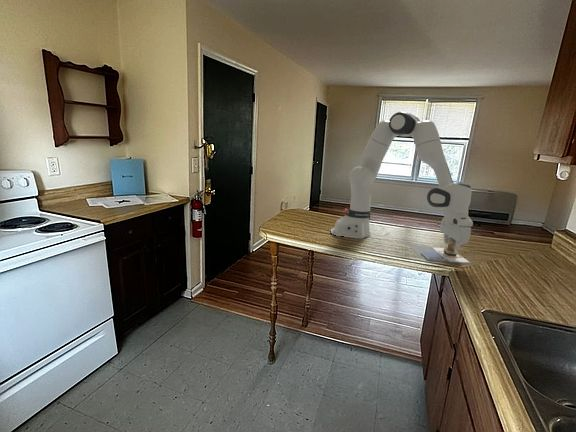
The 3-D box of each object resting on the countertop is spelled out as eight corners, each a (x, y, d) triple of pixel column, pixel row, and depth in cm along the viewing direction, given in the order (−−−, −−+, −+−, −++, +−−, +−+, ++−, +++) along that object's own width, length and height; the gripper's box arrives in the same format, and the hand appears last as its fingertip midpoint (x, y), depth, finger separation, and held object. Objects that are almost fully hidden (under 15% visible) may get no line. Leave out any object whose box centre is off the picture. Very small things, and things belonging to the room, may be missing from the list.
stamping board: (426, 263, 138) (426, 258, 137) (409, 248, 157) (410, 243, 157) (471, 266, 138) (472, 260, 137) (449, 250, 157) (450, 245, 157)
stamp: (447, 255, 145) (450, 239, 143) (443, 252, 149) (445, 236, 147) (457, 256, 145) (460, 239, 143) (452, 253, 149) (455, 237, 147)
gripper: (439, 212, 153) (434, 239, 156) (460, 223, 133) (455, 253, 136) (451, 212, 153) (447, 239, 156) (475, 223, 133) (469, 254, 136)
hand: (451, 246), depth 146 cm, fingers open, 8 cm apart
